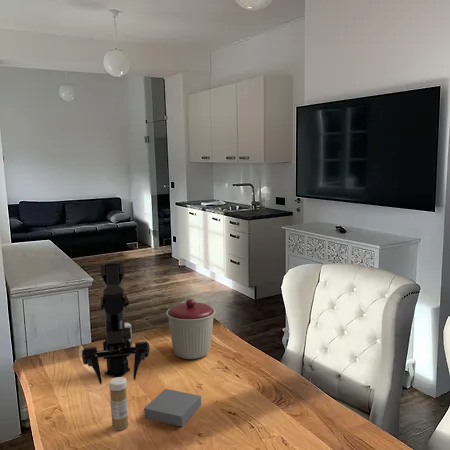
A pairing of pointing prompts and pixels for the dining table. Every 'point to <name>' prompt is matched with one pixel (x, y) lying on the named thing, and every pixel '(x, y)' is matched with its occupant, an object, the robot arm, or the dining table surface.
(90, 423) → the dining table surface
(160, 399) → the podium
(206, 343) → the canister
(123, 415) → the sprinkles bottle
